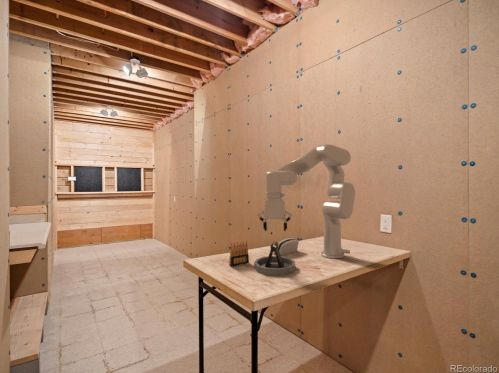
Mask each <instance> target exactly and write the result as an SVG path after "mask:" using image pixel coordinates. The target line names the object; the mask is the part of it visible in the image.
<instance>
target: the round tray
mask: <svg viewBox="0 0 499 373" xmlns="http://www.w3.org/2000/svg"><path fill="white" fill-rule="evenodd" d="M268 256H269V255H268ZM268 256H263V257H259V258H257V259H256V258H255V260H254V262H253V263H254V264H253V265H254V266H253V268H254V271H256V273H259V274H263V275H266V276H273V277H274V276H276V277H279V276H287V275H290V274H293V273H294V272H296V261H295V260H293V259H292V258H289V257H285V256H283V255H281V257H282V260H283V263H284V267H283V268H266V267H265V265H266V262H267V259H268ZM270 264H278V262H277V259H276V255H272V259H271V263H270Z"/></svg>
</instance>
